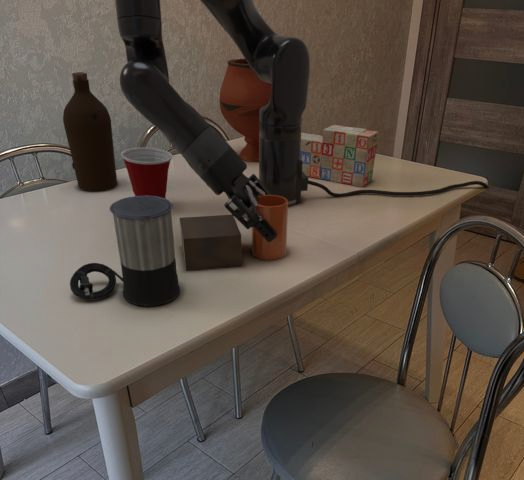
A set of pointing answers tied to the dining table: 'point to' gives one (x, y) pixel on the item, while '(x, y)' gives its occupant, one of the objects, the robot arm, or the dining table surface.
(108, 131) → the olive oil
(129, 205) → the milk frother
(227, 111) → the goblet
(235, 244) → the walnut block
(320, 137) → the stack of blocks
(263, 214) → the terracotta cup
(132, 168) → the plastic cup
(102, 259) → the dining table surface
